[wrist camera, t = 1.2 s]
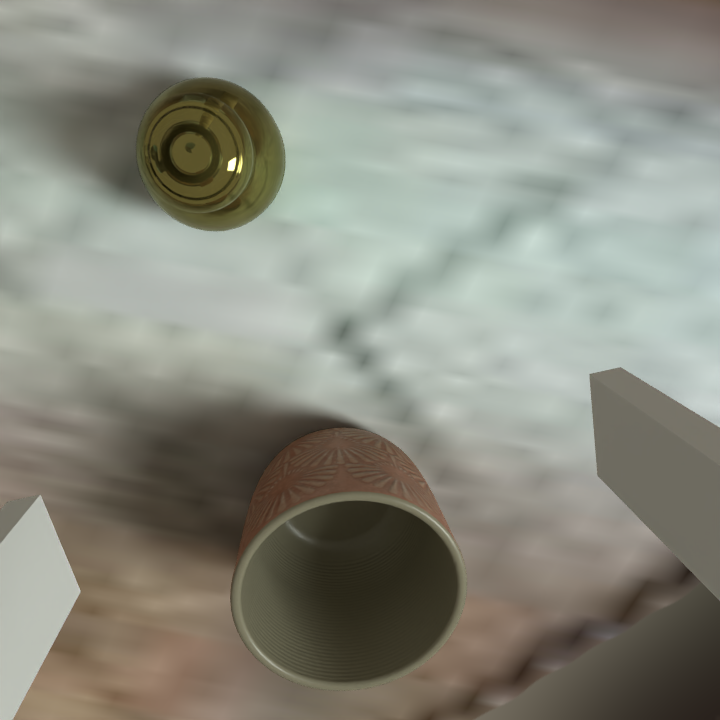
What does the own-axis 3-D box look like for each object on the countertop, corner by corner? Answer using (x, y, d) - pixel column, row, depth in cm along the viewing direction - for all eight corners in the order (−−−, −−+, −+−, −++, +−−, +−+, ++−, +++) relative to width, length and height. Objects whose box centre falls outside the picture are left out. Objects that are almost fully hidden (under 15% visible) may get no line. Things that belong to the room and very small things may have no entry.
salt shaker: (310, 141, 34) (314, 129, 25) (242, 249, 36) (221, 277, 26) (197, 59, 33) (155, 12, 23) (130, 176, 34) (64, 178, 25)
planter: (419, 565, 44) (456, 688, 33) (248, 569, 43) (232, 697, 32) (433, 409, 40) (479, 491, 30) (246, 408, 39) (227, 493, 28)
